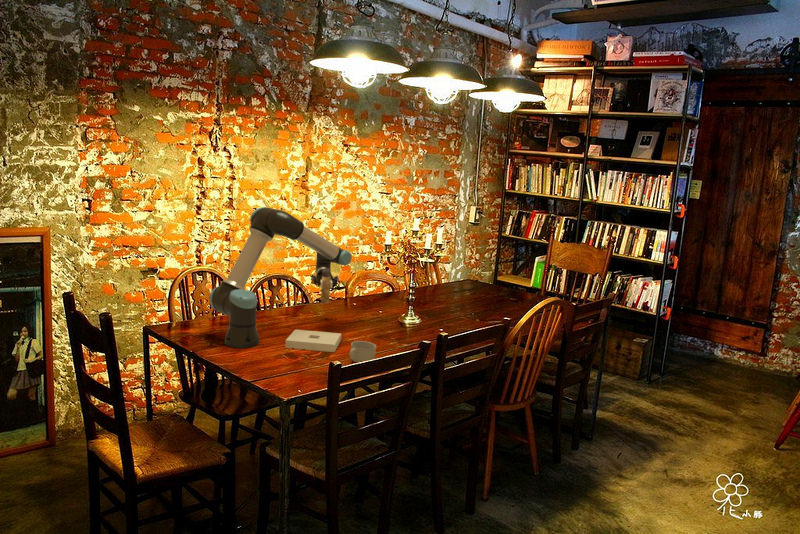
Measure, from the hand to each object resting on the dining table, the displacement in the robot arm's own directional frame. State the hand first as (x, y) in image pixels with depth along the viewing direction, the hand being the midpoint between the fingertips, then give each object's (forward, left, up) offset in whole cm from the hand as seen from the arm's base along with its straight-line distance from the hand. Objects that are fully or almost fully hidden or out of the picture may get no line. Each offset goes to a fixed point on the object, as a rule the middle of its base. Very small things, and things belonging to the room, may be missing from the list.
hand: (326, 285), depth 294 cm
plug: (-1, +5, -9) cm, 11 cm away
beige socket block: (-2, -12, -25) cm, 28 cm away
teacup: (+22, -32, -26) cm, 46 cm away
